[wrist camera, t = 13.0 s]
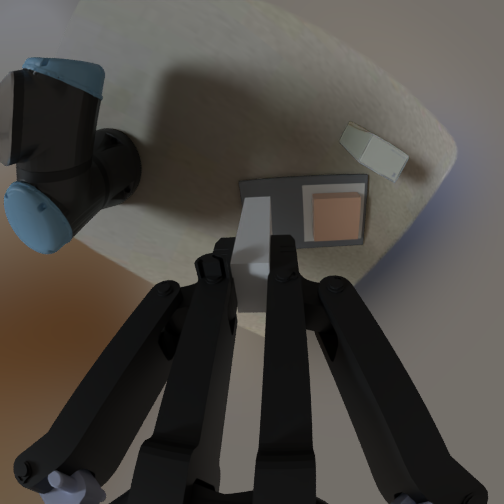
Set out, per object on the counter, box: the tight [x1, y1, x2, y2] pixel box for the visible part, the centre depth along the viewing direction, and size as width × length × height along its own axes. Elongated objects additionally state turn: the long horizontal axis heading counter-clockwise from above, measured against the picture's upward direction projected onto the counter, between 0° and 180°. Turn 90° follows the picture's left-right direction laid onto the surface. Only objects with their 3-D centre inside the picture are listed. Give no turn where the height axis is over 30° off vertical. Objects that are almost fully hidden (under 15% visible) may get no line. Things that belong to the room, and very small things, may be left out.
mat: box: [239, 174, 368, 249], centre depth 47 cm, size 22×14×1 cm, turn 97°
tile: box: [312, 192, 361, 242], centre depth 45 cm, size 3×8×8 cm
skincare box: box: [339, 121, 409, 183], centre depth 34 cm, size 6×4×12 cm
